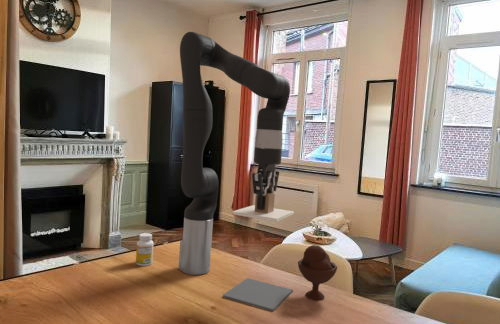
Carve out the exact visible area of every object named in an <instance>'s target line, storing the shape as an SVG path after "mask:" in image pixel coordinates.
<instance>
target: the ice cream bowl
mask: <svg viewBox="0 0 500 324" xmlns="http://www.w3.org/2000/svg"><path fill="white" fill-rule="evenodd" d="M297 265H298V269H299V272H300V273H301V275H302V276H303V277H304V279H305V280H307V282H310V283H311V284H312V289H310V290H308V291H307V292H306V293H305V295H304V296H305V297H306V299H308V300H311V301H316V302H320V301H323V300H324V299H326V298H325V295H324V294H323V293H322V292H321V291H320V290H319V287H320V284H321V285H323V284H325V283H327V282H329V281H330V280H331V279H332V278H333V277H334V276H335V274H336V273H337V270H338V266H337V265H336V264H335V263H334V262H333V261H331V257H330V255H329V253H327V252H326V251H325V249H324V248H323V247H321V246H320V245H318V244H317V245H316V244H313V245H309V246H308V247H307V248H305V250H304V253H303V257H302V258H301V259H300V260H298V261H297Z"/></svg>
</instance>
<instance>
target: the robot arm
mask: <svg viewBox="0 0 500 324" xmlns="http://www.w3.org/2000/svg"><path fill="white" fill-rule="evenodd" d="M180 40H181V41H180V45H179V58H180V59H179V60H180V67H181V77H182V98H183V99H182V101H183V103H182V105H183V106H182V109H183V110H182V121H183V122H182V123H183V146H182V148H183V149H182V152H183V154H182V164H181V174H180V175H181V176H180V185H181V189H182V192H183V194H184V195H185V196H186V197H188V198H191V199H193V200H192V201H191V203H190V204H189V205H187V206H186V207H185V209H184V212H183V213H184V214H183V216H184V217H183V231H182V233H183V234H182V239H180V241H179V255H178V256H179V257H178V270H180V271H182V273H183V274H188V275H196V276H197V275H204V274H207V273H209V272H210V271H211V258H212V255H211V254H212V243H213V242H212V239H213V223H214V214H215V212H216V208H217V202H218V195H219V186H220V185H219V178H218V174H217V173H216V171H215V170H214V169H213V168H209V167H204V166H203V156H204V152H205V151H204V150H205V147H206V144H207V142H208V140H209V138H210V135H211V132H212V129H213V124H214V123H213V122H214V121H213V119H214V118H213V114H214V113H213V104H212V100H211V98H210V96H209V94H208V91H207V89H206V87H205V85H204V82H203V79H202V75H201V66H202V67H210V68H214V69H217V70H219V71H222V72H223V73H224V74H225V75H226V76H227V77H228V78H229V79H231V80H232V81H234V82H235V83H237V84H240V85H241V86H242V87H245V88H247V89H248V90H250V92H252V93H253V94H254V95H257V96H258V97H260V98H263V99H267V101H266V105H265V107H264V108H260V109H259V110H258V112H257V113H258V114H257V121H256V132H255V137H254V150H253V163H255V164H258V166H257V170H256V172H252V174H251V179H252V190H253V195H255V196H256V195H257V209H259V210H264V209H265V200H266V193H273V194H275V192H276V191H277V187H278V182H279V179H280V171H278V170H276V166H278V165H281V164H282V153H283V152H282V150H283V124H284V115H285V111H286V109H287V105H288V103H289V99H290V93H291V86H290V82H289V80H288V78H287V77H285V76H283V75H281V74H278V73H274V72H272V71H270V70H267V69H264V68H262V67H261V66H260V65H259V64H257V63H255V62H253V61H250V60H248V59H247V58H244V57H242V56H239V55H237V54H234V53H231V51H228V50H227V49H225V47H223V46H221V45H220V44H219V43H218V42H217V41H215V40H214V39H213V38H211V37H209V36H206V35H204V34H200V33H198V32H196V31H187V32H186V33H184V34H183V36H182V38H181V39H180Z"/></svg>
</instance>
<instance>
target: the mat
mask: <svg viewBox="0 0 500 324" xmlns="http://www.w3.org/2000/svg"><path fill="white" fill-rule="evenodd" d="M293 292H294V290H293V288H292V289H291V288H289V287H288V288H287V287H284V286H280V285H275V284H273V283H269V282H264V281H260V280H256V279H251V278H249V277H247V278H245V279H244V280H242V281H241V282H239V283H237V284H236V285H234V287H232V288H230V289H229V290H228V291H226V292H225V293H223V294H222V298H225V299H228V300H232V301H235V302H239V303H242V304H246V305H250V306H253V307H256V308H260V309H262V310H265V311H270V312H274V311H275V310H276V309H277V308H278V307H279V306H280V305H281V304H283V302H284V301H285V300H286V299H287V298H289V296H290V295H291V294H293Z"/></svg>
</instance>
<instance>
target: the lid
mask: <svg viewBox="0 0 500 324" xmlns="http://www.w3.org/2000/svg"><path fill="white" fill-rule="evenodd" d="M275 196H276V195H275V193H266V200H265V209H264V210H259V209H257V195H256V194H255V199H254V200H255V201H254V204H253V205H250V206H249V205H248V206H246V207H242V208H239V209H236V210H233V211H232V212H231V213H232V214H231V215H233V216H239V217H240V216H241V217H245V218H246V217H247V218H252V219H256V220H257V219H258V220H264V221H270V222H277V223H278V222H279V221H282V220H284V219H286V218H289V217H291V216H293V215H294V214H295V211H293V210H288V209H287V210H286V209H280V208H275Z"/></svg>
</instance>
